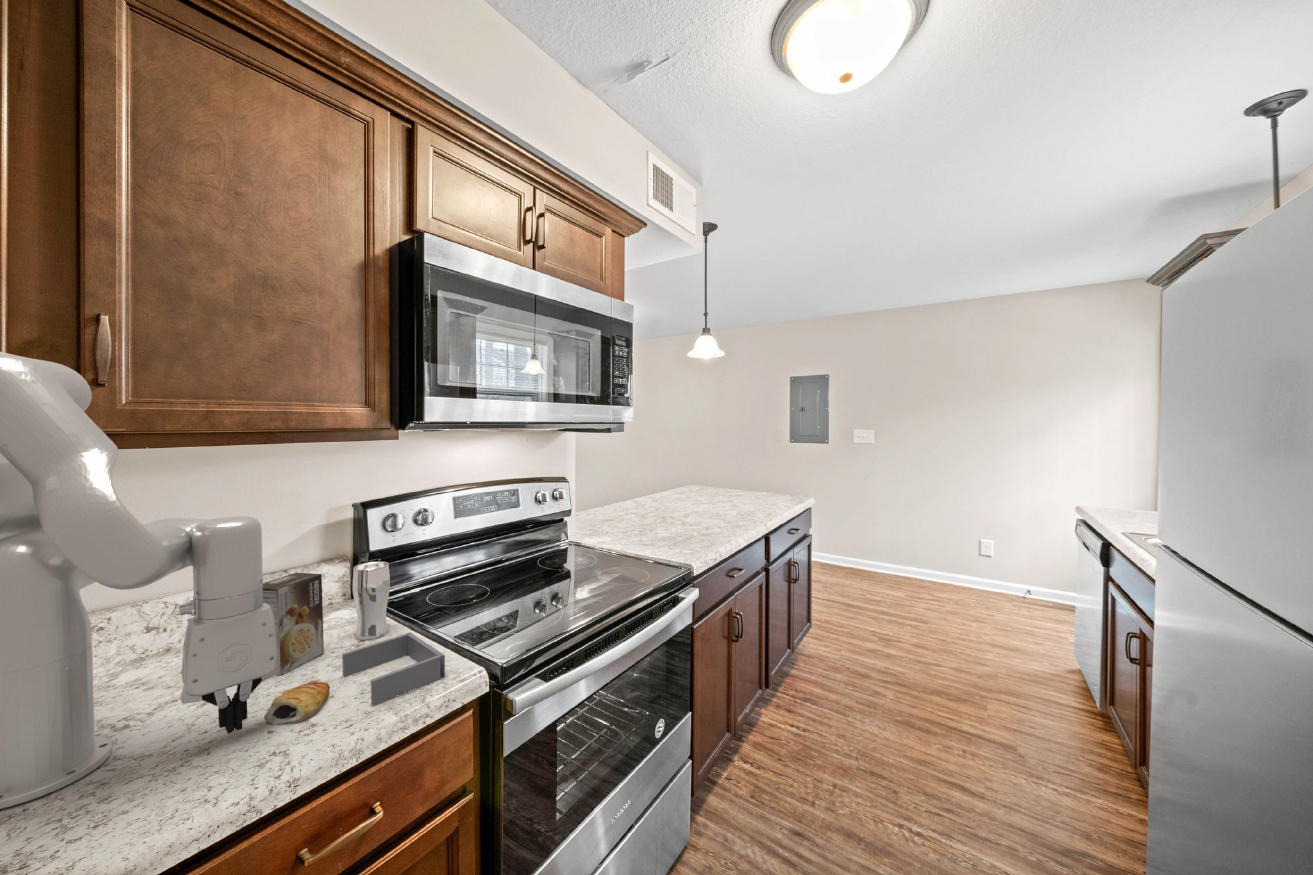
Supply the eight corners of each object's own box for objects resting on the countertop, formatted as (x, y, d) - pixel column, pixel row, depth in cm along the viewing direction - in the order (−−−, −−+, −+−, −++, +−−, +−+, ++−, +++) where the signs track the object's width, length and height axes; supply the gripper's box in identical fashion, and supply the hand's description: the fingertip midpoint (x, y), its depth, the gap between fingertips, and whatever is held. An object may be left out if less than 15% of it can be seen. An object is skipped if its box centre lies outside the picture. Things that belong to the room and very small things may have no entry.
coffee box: (298, 650, 97) (297, 571, 97) (325, 653, 96) (323, 573, 96) (251, 673, 88) (250, 586, 88) (280, 676, 87) (278, 588, 87)
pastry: (300, 693, 82) (300, 670, 82) (342, 691, 83) (342, 669, 82) (260, 727, 73) (259, 702, 73) (307, 725, 73) (307, 700, 73)
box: (373, 705, 78) (372, 681, 78) (342, 675, 87) (342, 653, 87) (444, 676, 87) (444, 654, 87) (410, 652, 96) (410, 632, 96)
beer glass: (345, 637, 103) (344, 568, 102) (375, 625, 109) (375, 559, 109) (368, 643, 100) (367, 571, 100) (397, 630, 107) (396, 563, 106)
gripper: (158, 626, 62) (162, 767, 62) (299, 595, 73) (302, 714, 74) (153, 612, 67) (157, 742, 67) (286, 584, 78) (289, 696, 78)
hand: (233, 727), depth 70 cm, fingers closed
